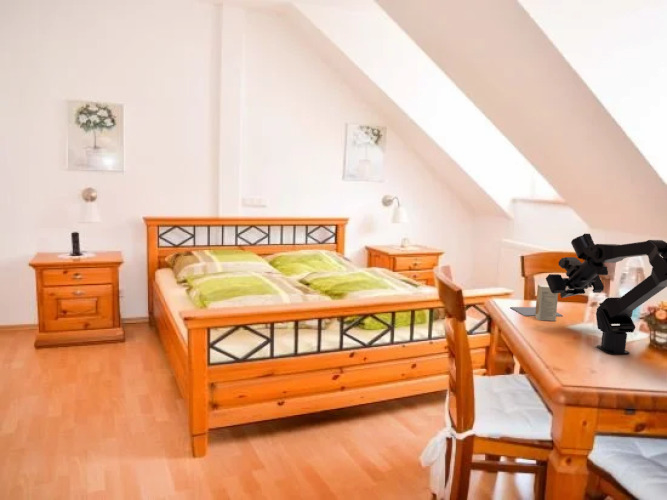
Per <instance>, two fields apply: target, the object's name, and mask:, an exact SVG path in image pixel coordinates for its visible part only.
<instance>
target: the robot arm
mask: <svg viewBox="0 0 667 500" xmlns="http://www.w3.org/2000/svg"><path fill="white" fill-rule="evenodd" d="M570 244H571V247H572V248H573V251H574V253H575V255H576V257H573V256H566V257H562V258H561V259H559V260H558V266H559V267H560V268H561V269H564V270H565V271H566V272H565V275H566V277H562V275H561V274H559V273H549V274H548V275H547V276H546V278H545V280H546V283H547V285H548V286H549V288H550V290H551V292H552V293H558V294H560V295H559V296H560V298H561V299H564V298H569V297H573V296H577V295H584V294H586V290H587V289H589V288H593V289H592V290H591V291H592V293H594V294H600V293H602V292H603V291H605V286H604V283H603V282H602V279H601V278H600V276H607V275H608V274H609V271H608V270H609V269H608V266H606V264H607V263H608V264H615V263H618V262H621V261H623V260H624V259H627V258H634V257H635V258H636V257H644V256H647V258H648V262H649V265H651V267H652V268H651V271H650V272H651V273H650V275H649V276H647V277H646V278H645V279H643V280H642V281H640V282H639V283H638V284H637V285H635V286H634V287H633V288H631V289H629V291H627V292H625V294H623V295H622V296H620V297H606V298H605V300H603V301H602V302H600V303H598V306H597V308H596V313H595V317H596V325H597V329H598V330H600V332H602V334H601V343H600V345H599V344H598V345H596V348H598V349H600V350H601V351H603V352H605V353H606V354H609V355H630V352H629V351H628V350H626V346H627V345H626V344H627V339H628V337H627V336H628V334H627V333H632V334H633V333H634V331H635V329H636V325H635V323H634V321H633V318H632V317H633V313H634V312H633V311H635V310H636V309H637V308H639V307H641V305H643V304H644V303H646V302H647V301H649V300H650V299H651V298H653V297H654V296H656V295H657V294H658V293H660V292H661V291H663V290H664V289H666V288H667V241H664V240H663V239H648V240H644V241H638V242H631V243H624V244H623V243H622V244H617V243H594V241H593V237H592V236H591V233H584V234H582V235H579V236H577V237H575V238H573V239H571V242H570ZM580 260H583V261H580ZM585 289H586V290H585Z"/></svg>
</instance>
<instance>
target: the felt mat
mask: <svg viewBox="0 0 667 500" xmlns="http://www.w3.org/2000/svg"><path fill="white" fill-rule="evenodd" d="M509 308H510V309H511V310H513V311H514V312H516V313H518V314H520V315H522V317H535V312H536V306H532V307H531V306H528V307H527V306H526V307H525V306H511V307H509ZM556 317H564V315H563V314H562V313H559V312H557V311H556Z"/></svg>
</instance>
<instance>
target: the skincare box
mask: <svg viewBox="0 0 667 500" xmlns="http://www.w3.org/2000/svg"><path fill="white" fill-rule="evenodd" d="M536 289H537V291H536V302H535V307H536V312H535V316H534V317H535V318H536V320H537V321H554V322H556V320H557V316H556V312H557V311H558V298H559V293H552V292H551V290H550V288H549V286H548V284H541V283H540V284H537V288H536Z"/></svg>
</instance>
